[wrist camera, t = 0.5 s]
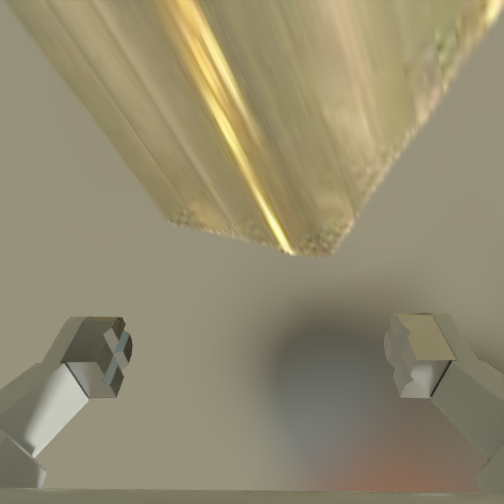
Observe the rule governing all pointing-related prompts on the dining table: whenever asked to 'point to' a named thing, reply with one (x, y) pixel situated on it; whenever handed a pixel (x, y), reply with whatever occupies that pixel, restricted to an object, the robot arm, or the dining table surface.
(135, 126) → the dining table surface
